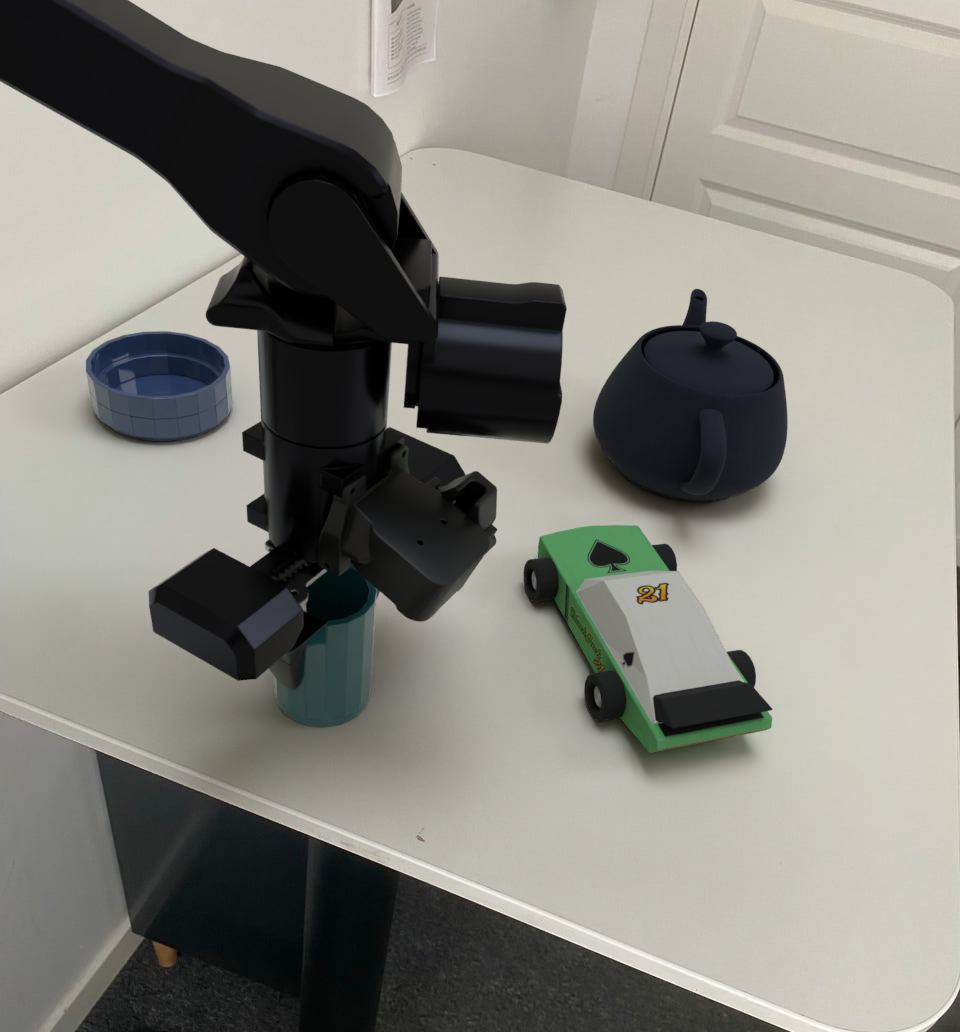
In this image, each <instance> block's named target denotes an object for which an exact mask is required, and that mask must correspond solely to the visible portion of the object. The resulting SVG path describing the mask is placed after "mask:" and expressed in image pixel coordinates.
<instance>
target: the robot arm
mask: <svg viewBox="0 0 960 1032" xmlns="http://www.w3.org/2000/svg"><path fill="white" fill-rule="evenodd" d="M0 83H2V84H4V85H5V86H8V87H10V88H11V89H13V90H15V91H17V92H18V93H20V94H22V95H23V96H25V97H27V98H29V99H31V100H33V101H34V102H36V103H37V104H40V105H41V106H43V107H45V108H47V109H49V110H50V111H52V112H54V113H55V114H58V115H59V116H61V117H62V118H65V119H67V120H68V121H70V122H72V123H73V124H75V125H77V126H79V127H81V128H82V129H83V130H86V131H88V132H89V133H91V134H93V135H95V136H96V137H98V138H100V139H102V140H103V141H106V142H107V143H109V144H111V145H112V146H115V147H116V148H117V149H119V150H122V151H124V152H125V153H127V154H129V155H130V156H132V157H133V158H135V159H137V160H138V161H139V162H141V163H142V164H144V165H145V166H146V167H148V168H149V169H150V170H151V171H152V172H154V173H155V174H156V175H158V176H159V177H160V178H161V179H163V180H164V181H166V183H168V184H169V185H170V186H171V188H172V189H173V190H174V191H175V192H176V193H177V195H178V196H179V197H180V198H181V199H182V200H183V201H184V203H185V204H186V205H187V206H188V207H189V208H190V209H191V211H193V213H194V214H195V215H196V216H197V217H198V218H199V219H200V221H201V222H202V223H203V224H204V225H205V227H206V228H208V230H210V231H211V232H212V233H213V234H214V235H216V236H217V237H218V238H219V239H221V240H222V241H223V242H225V243H226V244H228V245H229V246H230V247H231V248H232V249H234V250H235V251H237V252H238V253H239V254H240V255H242V256H243V258H242V260H240V262H239V263H238V264H237V265H236V266H234V267H233V268H232V269H230V270H229V271H227V272H226V273H224V274H223V275H222V276H220V277H219V279H218V281H217V284H216V286H215V289H214V292H213V294H212V296H211V299H210V301H209V304H208V306H207V308H206V311H205V319H206V321H207V322H208V323H209V324H210V325H212V326H213V327H222V328H231V329H241V330H249V331H250V330H251V331H256V332H257V333H256V334H257V357H258V358H257V359H258V379H259V380H258V381H259V400H260V401H259V402H260V403H259V404H260V405H259V406H260V421H259V422H257V423H255V424H254V425H252V426H250V427H248V428H247V429H245V430H244V431H242V432H241V436H242V437H241V438H242V451H243V452H244V453H246V454H249V455H250V456H254V457H255V458H257V459H259V460H261V461H262V471H263V472H262V473H263V493H262V494H261V495H260V496H257V498H255V499H254V500H252V501H251V502H249V503H248V504H246V518H247V519H246V520H247V523H249V524H251V525H253V526H254V527H257V528H259V529H260V530H263V531H264V532H267V533H268V539H267V540H266V541H265V542H264V548H265V551H267V553H266V554H265V555H264V556H262V557H261V558H259V559H258V560H257V561H255V562H253V564H251V565H247V564H245V563H243V562H242V561H240V560H237V559H236V558H234V557H232V556H230V555H229V554H227V553H225V552H223V551H221V550H219V549H217V548H215V547H213V548H211V549H209V550H207V551H206V552H203V553H202V554H200V555H198V556H197V557H196V558H194V559H193V560H191V561H190V562H188V563H187V564H186V565H184V566H183V567H181V568H180V569H178V570H176V571H175V572H174V573H173V574H171V575H170V576H168V577H167V578H165V579H163V580H162V581H161V582H159V583H158V584H156V585H155V586H154V587H152V588H151V589H149V590H148V607H149V615H150V620H151V628H152V632H153V633H154V634H156V635H158V636H159V637H161V638H163V639H165V640H167V641H168V642H170V643H172V644H173V645H175V646H177V647H179V648H180V649H182V650H184V651H185V652H188V653H189V654H191V655H193V656H194V657H196V658H198V659H199V660H201V661H203V662H205V663H207V664H208V665H210V666H211V667H212V668H215V669H216V670H218V671H219V672H222V673H223V674H226V675H227V676H229V677H230V678H232V679H234V680H236V681H237V682H239V681H250V680H251V681H252V680H257V679H258V678H259V677H260V676H262V675H263V674H264V673H265V672H266V671H268V670H269V671H270V672H271V674H272V676H273V675H274V676H275V677H276V679H277V680H278V681H279V683H281V684H282V685H284V686H286V687H287V688H289V689H291V690H295V689H296V688H297V687H298V686H299V683H300V678H301V674H302V666H303V656H304V645H305V642H307V641H308V640H309V639H310V638H311V637H312V636H313V635H315V634H316V633H317V632H318V631H319V630H320V629H322V628H323V627H324V626H325V625H326V624H327V622H326V621H324V620H323V619H321V618H319V617H317V616H315V615H313V614H311V613H309V612H308V611H307V602H308V599H309V591H308V589H307V587H308V586H309V585H311V584H312V583H313V582H314V581H316V580H317V579H318V578H319V577H321V576H322V575H323V574H324V573H326V572H327V571H329V572H331V573H333V574H335V575H337V576H340V575H342V574H343V573H344V572H345V571H346V570H348V569H349V568H350V564H351V563H353V565H354V567H355V569H356V570H357V572H358V573H359V574H360V575H362V576H363V577H364V578H365V579H366V580H367V581H368V582H370V583H371V584H372V585H373V586H374V587H375V588H377V595H376V601H377V600H378V598H379V596H380V593H381V594H382V595H383V596H385V597H386V598H387V599H388V600H389V601H390V602H391V603H393V605H395V608H396V610H397V611H398V612H399V613H400V614H401V615H402V616H404V617H405V618H407V619H408V620H411V621H413V622H418V623H422V622H426V621H428V620H430V619H431V618H433V617H434V615H435V614H436V613H437V612H438V611H439V610H440V609H441V608H442V607H443V606H444V605H445V604H446V603H447V602H448V601H449V600H450V599H451V598H452V597H453V596H454V595H455V594H457V592H459V591H461V589H462V588H463V587H464V585H465V584H466V583H467V581H468V580H469V578H470V577H471V575H472V574H473V572H474V571H475V570H476V568H477V566H478V565H479V563H480V562H481V561H482V560H483V558H484V557H485V556H486V554H488V552H489V551H490V550H492V548H493V547H495V546H496V544H497V536H496V533H497V532H498V528H497V527H496V526H495V525H493V524H494V522H495V521H496V518H497V508H498V507H497V504H498V488H497V486H496V485H495V484H494V483H493V482H491V481H490V480H489V479H488V478H487V477H486V476H484V475H483V474H482V473H481V472H480V471H477V470H474V471H472V472H470V473H467V474H466V473H465V471H464V469H463V468H462V466H461V464H460V462H459V461H458V460H457V458H456V455H455V454H452V453H450V452H447V451H445V450H443V449H440V448H438V447H436V446H433V445H431V444H429V443H427V442H425V441H423V440H420V439H418V438H415V437H413V436H411V435H409V434H407V433H405V432H402V431H399V430H398V429H395V428H393V427H391V426H388V415H389V414H388V413H389V398H390V397H389V395H390V381H391V380H390V379H391V366H392V365H391V364H392V350H393V349H392V348H393V344H400V345H401V344H402V345H407V350H406V361H405V362H406V364H405V377H404V378H405V379H404V393H403V394H404V395H403V408H404V409H416V407H417V410H416V424H415V425H416V426H415V427H416V429H425V431H426V434H437V435H447V436H459V437H467V438H468V437H471V438H480V439H493V440H504V441H514V442H524V443H525V442H526V443H536V444H549V443H551V442H552V440H553V437H554V434H555V432H556V429H557V426H558V422H559V417H560V413H561V407H562V403H563V389H562V385H561V375H562V367H563V364H562V363H563V345H564V344H563V339H564V337H563V330H564V325H565V319H566V315H567V309H568V308H567V304H566V298H565V294H564V290H563V288H562V287H561V285H560V284H557V283H548V282H539V281H538V282H537V281H529V282H523V283H506V282H505V283H503V282H494V281H485V280H477V279H476V280H475V279H469V278H458V277H448V276H439V275H440V271H439V270H440V268H439V267H440V265H439V264H440V263H439V261H440V260H439V259H440V257H439V255H440V254H439V251H438V250H437V248H436V247H435V244H434V243H433V241H432V240H431V238H430V237H429V235H428V233H427V231H426V230H425V228H424V226H423V225H422V223H421V222H420V220H419V218H418V217H417V214H416V213H415V212H414V210H413V208H412V207H411V205H410V204H409V202H408V201H407V199H406V197H405V195H404V194H403V191H402V185H403V184H402V183H403V182H402V181H403V180H402V179H403V165H402V161H401V158H400V154H399V151H398V147H397V143H396V141H395V139H394V134H393V132H392V131H391V129H390V127H389V126H388V125H387V123H386V122H385V121H384V118H382V117H381V116H380V115H379V114H378V113H377V112H376V111H375V110H374V109H372V108H371V107H370V106H369V105H367V104H366V102H363V101H361V100H359V99H357V98H355V97H353V96H351V95H348V94H346V93H344V92H341V91H339V90H338V89H335V88H332V87H330V86H328V85H325V84H322V83H320V82H318V81H315V80H313V79H310V78H308V77H307V76H303V75H301V74H299V73H297V72H294V71H292V70H289V69H287V68H285V67H282V66H279V65H276V64H275V65H274V64H271V63H267V62H263V61H259V60H255V59H251V58H248V57H245V56H240V55H237V54H233V53H228V52H224V51H222V50H219V49H217V48H215V47H211V46H209V45H208V44H205V43H202V42H200V41H198V40H195V39H192V38H191V37H189V36H186V35H185V34H183V33H182V32H180V31H179V30H177V29H175V28H173V27H172V26H170V25H169V24H167V23H166V22H164V21H163V20H161V19H159V18H158V17H156V16H154V14H153V15H152V14H151V13H149V12H148V11H146V10H145V9H143V8H141V7H140V6H138V5H137V4H135V3H134V2H133V1H130V0H0Z"/></svg>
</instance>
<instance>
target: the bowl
mask: <svg viewBox="0 0 960 1032" xmlns="http://www.w3.org/2000/svg"><path fill="white" fill-rule="evenodd" d="M85 375H86V380H87V385H88V391H89V396H90V402H91V406H92V407H91V408H92V411H93V413H94V414H95V416H96V417H97V418H98V419H99V421H100V422H101V423H103V424H104V425H106V426H108V427H110V428H111V429H112V430H113V431H115V432H117V433H119V434H121V435H123V436H126V437H129V438H133V439H136V440H141V441H147V442H148V441H149V442H175V441H181V440H182V441H183V440H188V439H191V438H194V437H198V436H201V435H203V434H206V433H207V432H210V431H211V430H213V429H214V428H216V427H217V426H218V425H220V423H221V422H223V421H224V420H225V419H226V418H227V417H228V416H229V413H230V411H231V409H232V407H233V404H234V402H233V386H232V372H231V363H230V358H229V356H228V355H227V353H226V352H225V351H224V350H223V349H222V347H220V346H219V345H217V344H215V343H213V342H211V341H210V340H208V339H205V338H204V337H199V336H196V335H192V334H189V333H184V332H176V331H168V330H167V331H166V330H163V331H162V330H160V331H159V330H158V331H155V330H154V331H141V332H133V333H128V334H122V335H120V336H117V337H115V338H112V339H108V340H106V341H104V342H103V343H101V344H100V345H98V346H96V347H94V348H93V349H92V351H90V353H89V355H88V356H87V357H86V359H85Z"/></svg>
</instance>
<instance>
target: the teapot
mask: <svg viewBox="0 0 960 1032" xmlns="http://www.w3.org/2000/svg"><path fill="white" fill-rule="evenodd" d="M688 305H689V306H688V308H687V312H686V315H685V318H684V320H683V323H682V324H675V325H666V326H660V327H657V328H654V329H651V330H649V331H647V332H645V333H644V334H643V335H641V336H640V337H639V338H638V339H637V340H636V341H635V342H634V344H633V345H632V346H631V347H630V349H628V350H627V352H626V353H625V355H623V357H622V358H621V359H620V361H619V362H618V363H617V364H616V366H615V367H614V368H613V370H612V371H611V373H610V375H608V377H607V379H606V381H604V384H603V386H602V387H601V390H600V391H599V394H598V396H597V399H596V402H595V405H594V409H593V415H592V422H593V430H594V435H595V438H596V440H597V443H598V445H599V447H600V448H601V450H602V451H603V453H604V455H605V456H606V457H607V458H608V460H609V461H610V462H611V463H612V464H613V465H614V466H615V467H616V469H617V470H618V471H619V473H621V474H622V475H623V476H624V477H625V478H627V479H628V480H629V481H631V482H632V483H633V484H635V485H637V486H638V487H640V488H642V489H644V490H646V491H648V492H651V493H653V494H656V495H658V496H662V497H664V498H669V499H672V500H677V501H684V502H690V503H691V502H693V503H709V502H719V501H723V500H726V499H729V498H732V497H735V496H739V495H742V494H744V493H747V492H749V491H752V490H754V489H755V488H758V487H759V486H761V485H762V484H763V483H765V482H766V481H767V480H768V479H770V477H771V476H772V475H773V474H774V473H775V472H776V471H777V469H778V467H779V465H780V464H781V462H782V459H783V457H784V454H785V450H786V445H787V439H788V424H789V422H788V403H787V393H786V385H785V378H784V373H783V370H782V368H781V366H780V364H779V362H778V361H777V360H776V359H775V358H774V356H772V354H770V353H769V352H768V351H766V350H765V349H764V348H763V347H761V346H759V345H758V344H756V343H754V342H752V341H750V340H748V339H745V338H744V337H741V336H739V335H738V333H737V331H736V329H735V328H733V327H732V326H731V325H729V324H727V323H725V322H721V321H720V322H719V321H713V320H711V321H710V320H709V321H707V312H708V311H707V308H708V296H707V294H706V293H705V291H704V290H702V289H700V288H695V289H693V290H692V291H691V293H690V297H689V304H688Z"/></svg>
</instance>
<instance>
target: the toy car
mask: <svg viewBox="0 0 960 1032" xmlns="http://www.w3.org/2000/svg"><path fill="white" fill-rule="evenodd" d="M537 549H538V550H537V558H531V559H527V561H525V563H524V566H523V584H524V589H525V593H526V595H527V597H528V599H529V600H530V601H531V602H533V603H536V602H544V601H552V600H553V601H554V602H555V604H556V605H557V608H558V609H559V611H560V613H561V615H562V616H563V618H564V620H565V622H566V623H567V625H568V627H569V629H570V631H571V632H572V635H573V636H574V638H575V640H576V642H577V643H578V645H579V648H580V649H581V651H582V652H583V654H584V656H585V658H586V660H587V661H588V663H589V665H590V667H591V669H592V670H593V673H589V674H588V675H587V677H586V679H585V681H584V687H583V688H584V689H583V690H584V701H585V705H586V708H587V711H588V713H589V714H590V716H591V717H592V718H593V719H594V720H595V721H596V722H604V721H609V720H615V719H616V720H617V719H620V720H621V721H622V722H623V723H624V724H625V726H626V727H627V728H628V729H629V731H630V732H631V733H632V734H633V735H634V737H636V738H637V740H638V741H639V743H641V745H642V746H643V747H644V748H645V749H646V750H647V752H648V753H650V754H652V753H657V752H661V751H666V750H673V749H678V748H682V747H687V746H692V745H698V744H702V743H708V742H712V741H717V740H723V739H729V738H734V737H738V736H739V737H740V736H743V735H745V736H746V735H750V734H755V733H760V732H765V731H767V730H770V729H772V726H773V717H772V715H771V713H770V712H769V711H773V708H772V707H771V705H770V704H769V703H768V702H767V701H766V699H764V697H763V696H762V695H761V694H760V693H759V692H758V690H757V689H756V687H755V686H756V682H757V673H756V667H755V664H754V662H753V660H752V658H751V656H750V655H749V654H748V653H747V652H746V651H744V650H742V649H734V650H728V651H727V650H726V648H725V646H724V645H723V642H722V640H721V639H720V637H719V635H718V633H717V631H716V629H715V627H714V625H713V623H712V621H711V619H710V617H709V615H708V613H707V611H706V609H705V607H704V605H703V604H702V603H701V601H700V600H699V598H698V597H697V596H696V594H695V593H694V591H693V590H692V588H691V587H690V585H689V584H688V583H687V580H686V579H684V577H683V576H682V574H681V573H680V571H679V570H678V562H677V561H678V560H677V557H676V553H675V552H674V550H673V548H672V547H671V546H670V545H669V544H667V543H657V544H652V543H651V542H650V540H649V539H648V537H647V536H646V535H645V533H644V532H643V531H642V529H641V528H640V526H639V525H625V524H624V525H622V524H617V525H616V524H614V525H613V524H611V525H610V524H608V525H588V526H587V525H586V526H579V527H574V528H569V529H564V530H560V531H557V532H551V533H548V534H544V535H540V536H539V539H538V546H537Z"/></svg>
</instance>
